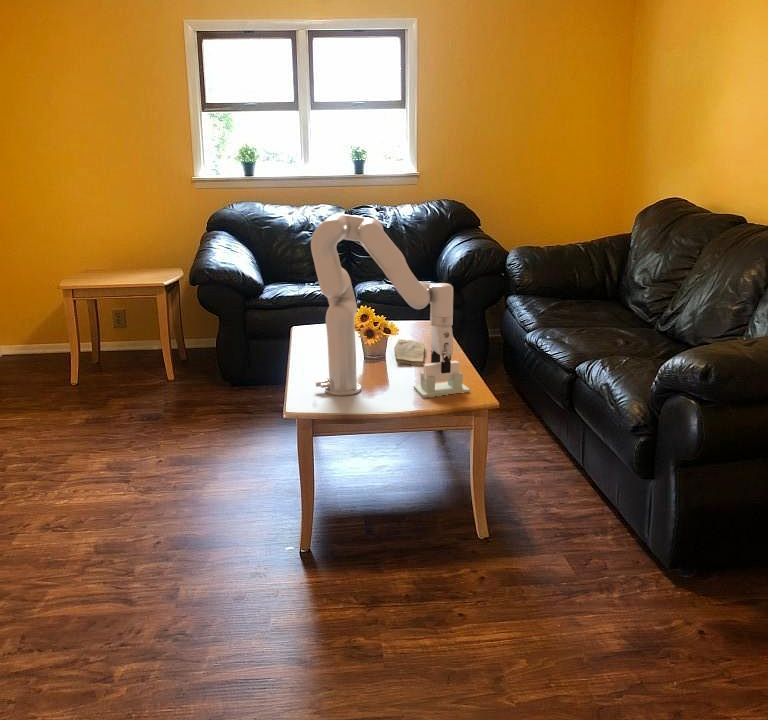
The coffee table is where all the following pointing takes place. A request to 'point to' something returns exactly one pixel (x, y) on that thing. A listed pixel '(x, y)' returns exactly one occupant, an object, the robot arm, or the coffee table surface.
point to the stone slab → (409, 352)
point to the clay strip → (435, 370)
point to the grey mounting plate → (440, 386)
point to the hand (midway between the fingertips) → (440, 368)
